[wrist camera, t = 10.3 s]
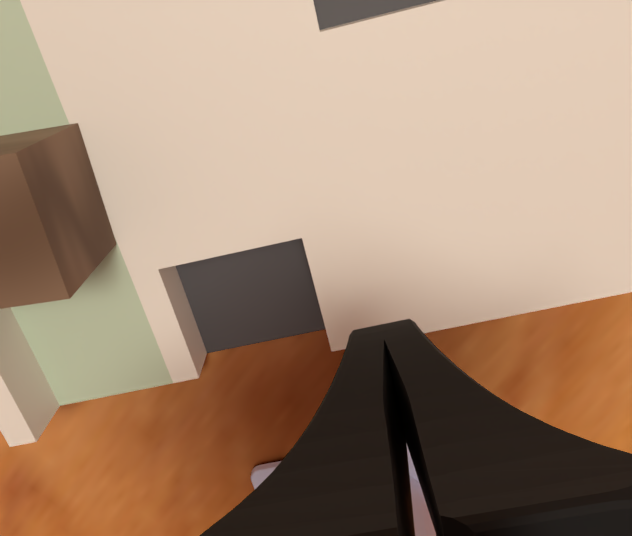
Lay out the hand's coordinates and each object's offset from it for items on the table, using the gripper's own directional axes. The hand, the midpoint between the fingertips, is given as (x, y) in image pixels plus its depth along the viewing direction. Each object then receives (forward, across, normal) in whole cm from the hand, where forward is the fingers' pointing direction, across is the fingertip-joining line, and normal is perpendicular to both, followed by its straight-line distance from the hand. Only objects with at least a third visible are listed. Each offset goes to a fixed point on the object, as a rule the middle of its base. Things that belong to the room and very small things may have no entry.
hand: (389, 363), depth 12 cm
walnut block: (+7, +10, -4) cm, 13 cm away
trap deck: (+9, 0, -4) cm, 10 cm away
